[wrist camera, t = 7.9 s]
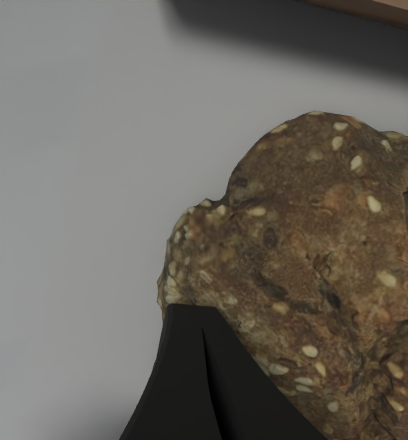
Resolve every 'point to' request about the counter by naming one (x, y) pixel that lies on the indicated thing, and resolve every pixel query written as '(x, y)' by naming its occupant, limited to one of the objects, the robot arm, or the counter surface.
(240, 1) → the counter surface
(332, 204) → the bread roll
